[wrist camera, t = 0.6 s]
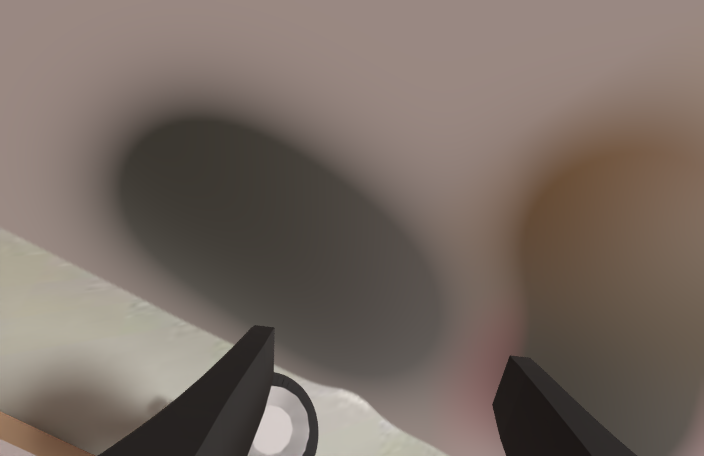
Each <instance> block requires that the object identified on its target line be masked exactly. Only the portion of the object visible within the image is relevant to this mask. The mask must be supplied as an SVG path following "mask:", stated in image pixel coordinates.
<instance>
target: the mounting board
mask: <svg viewBox="0 0 704 456" xmlns="http://www.w3.org/2000/svg"><path fill="white" fill-rule="evenodd" d="M0 439H1V440H3V441H5V442H8V443H10V444H12V445H14V446H16V447H19V448H21V449H23V450H25V451H27V452H30V453H32V454H34V455H36V456H95V455H92V454H90V453H88V452H86V451H84V450H82V449H80V448H77V447H75V446H73V445H71V444H69V443H67V442H65V441H62V440H60V439H58V438H56V437H54V436H52V435H50V434H47V433H45V432H43V431H41V430H39V429H37V428H35V427H33V426H30V425H28V424H26V423H24V422H22V421H20V420H18V419H15V418H13V417H11V416H9V415H7V414H5V413H3V412H0Z"/></svg>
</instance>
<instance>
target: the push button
mask: <svg viewBox="0 0 704 456" xmlns="http://www.w3.org/2000/svg"><path fill="white" fill-rule="evenodd" d="M317 444H318V421H317V416H316V412H315V409H314V406H313V404H312V402H311V400H310V398H309V396H308V395H307V393H306V392H305V391H304V389H303V388H302V387H301V386H300V385H299V384H298V383H296V382H295V381H294V380H292V379H291V378H289V377H287V376H285V375H282V374H279V373H275V372H274V377H273V382H272V386H271V390H270V393H269V397H268V401H267V404H266V408H265V412H264V414H263V417H262V420H261V422H260V425H259V427H258V430H257V433H256V435H255V438H254V440H253V443H252V446H251V448H250V451H249V453H248V456H315V454H316V449H317Z"/></svg>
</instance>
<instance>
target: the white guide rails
mask: <svg viewBox="0 0 704 456" xmlns="http://www.w3.org/2000/svg"><path fill="white" fill-rule="evenodd" d="M0 456H36V455H34V454H32V453H30V452H27V451H25V450H23V449H21V448H19V447H16V446H14V445H12V444H10V443H8V442H5V441H3V440H1V439H0Z"/></svg>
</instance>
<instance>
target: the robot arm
mask: <svg viewBox="0 0 704 456" xmlns="http://www.w3.org/2000/svg"><path fill="white" fill-rule="evenodd" d="M273 377H274V328H273V327H265V326H256V325H255V326H253V327H252V328H251V329H250V330H249V331H248V332H247V333H246V334H245V335H244V336H243V337H242V338H241V339H240V340H239V341H238V342H237V343H236V344H235V345H234V346H233V347H232V348H231V349H230V350H229V351H228V352H227V353H226V354H225V355H224V356H223V357H222V358H221V359H220V360H219V361H218V362H217V363H216V364H215V365H214V366H213V367H212V368H211V369H210V370H209V371H207V372H206V373H205V374H204V375H203V376H202V377H201V378H200V379H199V380H198V381H196V382H195V383H194V384H193V385H192V386H191V387H189V388H188V389H187V390H186V391H185V392H184V393H182V394H181V395H180V396H179V397H178V398H177V399H175V400H174V401H173V402H172V403H170V404H169V405H168V406H167V407H165V408H164V409H163V410H162V411H160V412H159V413H158V414H156V415H155V416H154V417H152V418H151V419H150V420H148V421H147V422H146V423H144V424H143V425H142V426H140V427H139V428H138V429H136V430H135V431H133V432H132V433H130V434H129V435H128V436H126V437H125V438H123V439H122V440H120V441H119V442H117V443H116V444H114V445H113V446H112V447H110V448H109V449H107V450H106V451H104V452H103V453H101V454H100V455H98V456H248V453H249V451H250V448H251V446H252V443H253V440H254V438H255V435H256V433H257V430H258V427H259V425H260V422H261V420H262V417H263V414H264V412H265V408H266V404H267V401H268V397H269V393H270V390H271V386H272V382H273ZM492 405H493V410H494V414H495V419H496V423H497V427H498V431H499V435H500V439H501V442H502V444H503V448H504V450H505V453H506V456H637V455H635V454H634V453H633V452H632V451H631V450H630V449H628V448H627V447H626V446H625V445H624V444H623V443H622V442H620V441H619V440H618V439H617V438H616V437H614V436H613V435H612V434H611V433H610V432H609V431H608V430H607V429H606V428H604V427H603V426H602V425H601V424H600V423H599V422H598V421H597V420H596V419H595V418H593V417H592V416H591V415H590V414H589V413H588V412H587V411H586V410H585V409H584V408H583V407H582V406H581V405H580V404H579V403H578V402H576V401H575V400H574V399H573V398H572V397H571V396H570V395H569V394H568V393H567V392H566V391H565V390H564V389H563V388H562V387H561V386H560V385H559V384H558V383H557V382H556V381H555V380H553V379H552V378H551V377H550V376H549V375H548V374H547V373H546V372H545V371H544V370H543V369H542V368H541V367H540V366H538V365H537V364H536V363H535V362H534V361H533V360H532V359H531V358H526V357H518V356H510V357H509V359H508V362H507V365H506V368H505V370H504V373H503V376H502V379H501V382H500V384H499V387H498V390H497V393H496V396H495V399H494V402H493V404H492Z"/></svg>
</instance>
